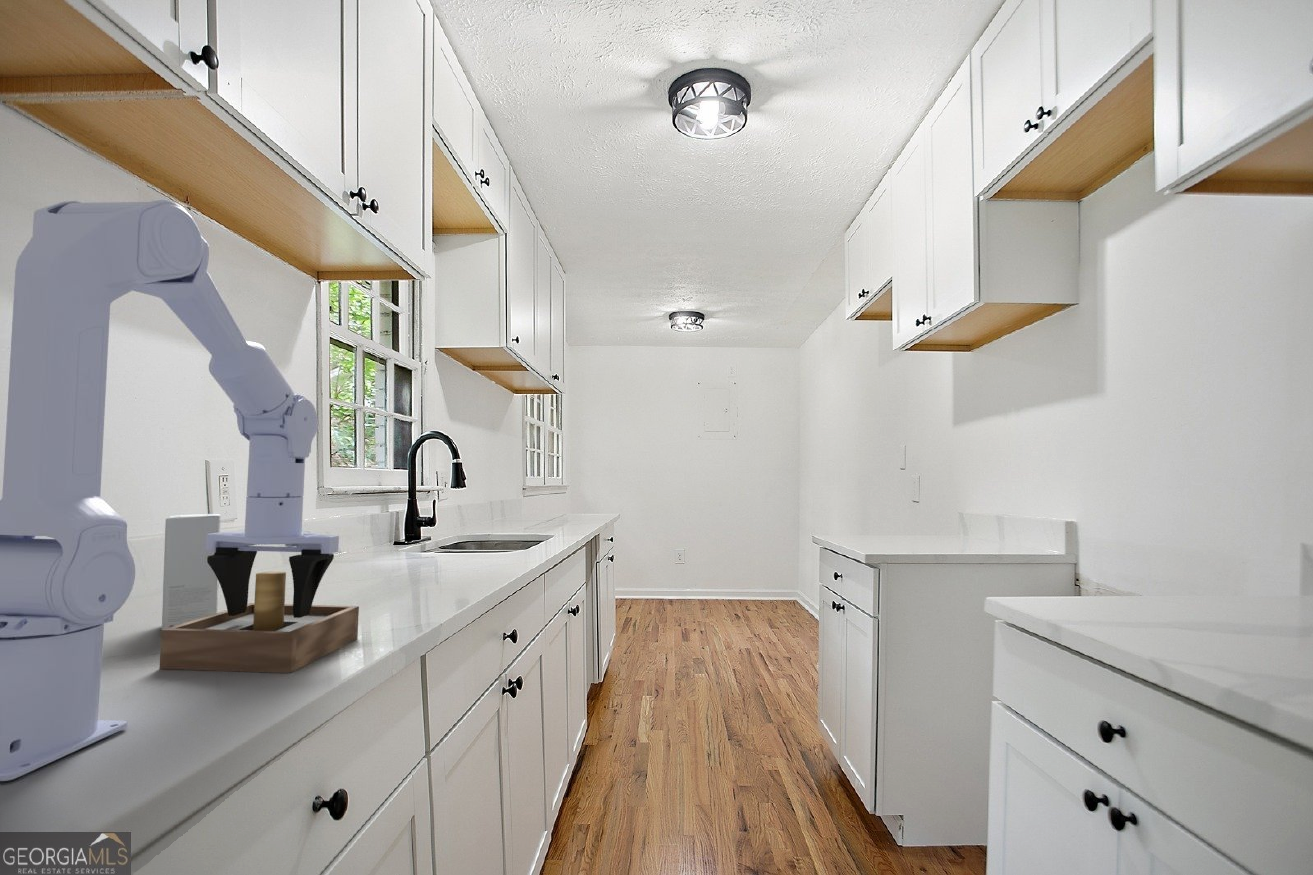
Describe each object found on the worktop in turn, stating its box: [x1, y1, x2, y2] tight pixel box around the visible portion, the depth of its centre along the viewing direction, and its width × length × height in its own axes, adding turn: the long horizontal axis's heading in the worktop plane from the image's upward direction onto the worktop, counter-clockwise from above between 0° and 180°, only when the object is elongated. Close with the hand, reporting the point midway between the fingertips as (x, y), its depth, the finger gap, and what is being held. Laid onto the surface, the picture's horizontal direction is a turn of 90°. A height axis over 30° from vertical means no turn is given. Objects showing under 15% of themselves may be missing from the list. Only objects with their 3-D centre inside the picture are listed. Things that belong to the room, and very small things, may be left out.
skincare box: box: [161, 513, 222, 631], centre depth 85 cm, size 8×6×15 cm
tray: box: [158, 602, 360, 674], centre depth 75 cm, size 14×14×4 cm
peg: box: [253, 570, 287, 631], centre depth 75 cm, size 3×3×8 cm
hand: (269, 615), depth 75 cm, fingers open, 7 cm apart
